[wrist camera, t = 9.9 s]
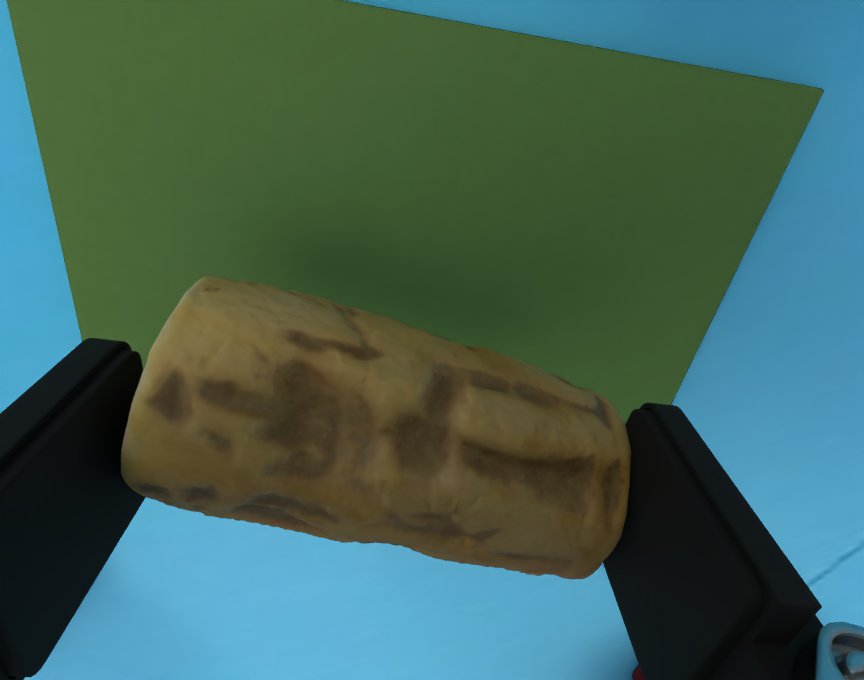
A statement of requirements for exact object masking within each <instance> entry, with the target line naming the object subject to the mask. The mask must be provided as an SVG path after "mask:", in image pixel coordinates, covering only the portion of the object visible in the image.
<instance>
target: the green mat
mask: <svg viewBox="0 0 864 680" xmlns="http://www.w3.org/2000/svg"><path fill="white" fill-rule="evenodd" d="M7 4H8V8H9V13H10V17H11V22H12V27H13V31H14V36H15V40H16V45H17V49H18V54H19V58H20V63H21V67H22V72H23V76H24V81H25V85H26V90H27V94H28V99H29V103H30V108H31V112H32V117H33V121H34V126H35V130H36V135H37V139H38V144H39V148H40V153H41V157H42V162H43V166H44V171H45V175H46V180H47V184H48V189H49V193H50V198H51V202H52V207H53V211H54V216H55V220H56V225H57V229H58V234H59V238H60V243H61V247H62V252H63V256H64V261H65V265H66V270H67V274H68V279H69V283H70V288H71V292H72V297H73V301H74V306H75V310H76V315H77V319H78V324H79V328H80V333H81V337H82V342H83V341H84V340H86V339H87V338H99V339H108V340H116V341H125V342H127V343H128V344H129V345H130V347H131V349H132V351H137V352H139V354H140V356H141V359H142V366H143V370H144V368H145V365H146V362H147V358H148V355H149V352H150V349H151V348H152V346H153V344H154V342H155V340H156V339H157V337H158V335H159V334H160V332H161V330H162V328H163V326H164V325H165V323H166V321H167V320H168V318H169V316H170V315H171V314H172V312H173V311H174V309H175V308H176V306H177V305H178V303H179V302H180V300H181V298H182V297H183V295H184V294H185V292H186V291H188V290H189V289H190V288H191V287H192V286H193V285H194V284H195V283H196V282H197V281H198V280H200V279H201V278H202V277H204V276H208V275H215V276H220V277H223V278H225V279H228V280H244V281H248V282H253V283H263V284H267V285H271V286H277V287H278V288H281V289H283V290H296V291H298V292H301V293H306V294H312V295H315V296H318V297H321V298H325V299H327V300H331V301H334V302H337V303H339V304H342V305H344V306H346V307H352V308H358V309H361V310H363V311H369V312H372V313H374V314H378V315H383V316H386V317H389V318H391V319H394V320H397V321H400V322H402V323H403V324H405V325H408V326H411V327H415V328H423V329H425V330H426V331H428V332H430V333H432V334H433V335H435V336H438V337H445V338H448V339H449V340H450V341H452V342H456V343H459V344H461V345H463V346H478V347H484V348H486V349H489V350H492V351H495V352H498V353H502V354H504V355H507V356H510V357H512V358H515V359H519V360H521V361H523V362H525V363H528V364H530V365H533V366H536V367H538V368H541V369H543V370H544V371H546V372H548V373H550V374H554V375H557V376H560V377H562V378H564V379H566V380H567V381H569V382H570V383H571V384H572V385H573V386H575V387H582V388H587V389H590V390H592V391H595V392H597V393H599V394H600V395H602V396H604V397H605V398H607V399H608V400H609V401H610V402H611V403H612V405H613V406H614V407H615V408H616V410H617V411H618V413H619V414H620V416H621V417H622V419H623V421H624V423H625V425H626V422H627V420H628V418H629V416H630V414H631V412H632V411H633V410H634V409H640V407H641V406H642V405H643V404H644V403H657V404H665V405H671V403H672V401H673V399H674V397H675V395H676V393H677V391H678V389H679V387H680V385H681V383H682V381H683V379H684V377H685V375H686V373H687V371H688V369H689V366H690V364H691V362H692V360H693V358H694V356H695V354H696V352H697V350H698V348H699V346H700V344H701V342H702V340H703V338H704V336H705V334H706V332H707V330H708V328H709V325H710V323H711V321H712V319H713V317H714V315H715V313H716V311H717V309H718V307H719V305H720V303H721V301H722V299H723V297H724V295H725V293H726V291H727V289H728V287H729V284H730V282H731V280H732V278H733V276H734V274H735V272H736V270H737V268H738V266H739V264H740V262H741V260H742V258H743V256H744V254H745V252H746V250H747V248H748V246H749V243H750V241H751V239H752V237H753V235H754V233H755V231H756V229H757V227H758V225H759V223H760V221H761V219H762V217H763V215H764V213H765V211H766V209H767V207H768V205H769V202H770V200H771V198H772V196H773V194H774V192H775V190H776V188H777V186H778V184H779V182H780V180H781V178H782V176H783V174H784V172H785V170H786V168H787V166H788V164H789V161H790V159H791V157H792V155H793V153H794V151H795V149H796V147H797V145H798V143H799V141H800V139H801V137H802V135H803V133H804V131H805V129H806V127H807V125H808V123H809V120H810V118H811V116H812V114H813V112H814V110H815V108H816V106H817V104H818V102H819V100H820V98H821V96H822V94H823V92H824V90H823V89H821V88H816V87H811V86H805V85H800V84H794V83H789V82H783V81H778V80H773V79H767V78H762V77H756V76H751V75H745V74H740V73H734V72H729V71H724V70H718V69H713V68H707V67H702V66H696V65H691V64H686V63H680V62H675V61H669V60H664V59H658V58H653V57H647V56H642V55H637V54H631V53H626V52H620V51H615V50H609V49H604V48H599V47H593V46H588V45H582V44H577V43H571V42H566V41H561V40H555V39H550V38H544V37H539V36H533V35H528V34H522V33H517V32H512V31H506V30H501V29H495V28H490V27H484V26H479V25H474V24H468V23H463V22H457V21H452V20H446V19H441V18H435V17H430V16H425V15H419V14H414V13H408V12H403V11H397V10H392V9H387V8H381V7H376V6H370V5H365V4H359V3H354V2H348V1H343V0H7Z"/></svg>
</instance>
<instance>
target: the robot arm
mask: <svg viewBox="0 0 864 680" xmlns="http://www.w3.org/2000/svg"><path fill="white" fill-rule="evenodd" d="M142 373H143V366H142V359H141V356H140V354H139V352H137V351H132V349H131V347H130V345H129V344H128V343H127V342H125V341H116V340H108V339H99V338H87V339H86V340H84V341H83V342H82V343H80V344H79V345H78V346H77V347H76V348H75V349H74V350H72V351H71V352H70V353H69V354H68V355H67V356H66V357H64V358H63V359H62V360H61V361H60V362H59V363H58V364H56V365H55V366H54V367H53V368H52V369H51V370H50V371H49V372H47V373H46V374H45V375H44V376H43V377H42V378H41V379H39V380H38V381H37V382H36V383H35V384H34V385H33V386H31V387H30V388H29V389H28V390H27V391H26V392H25V393H23V394H22V395H21V396H20V397H19V398H18V399H17V400H15V401H14V402H13V403H12V404H11V405H10V406H9V407H7V408H6V409H5V410H4V411H3V412H2V413H1V414H0V680H23V679H24V678H25V677H32V676H33V675H35V674H36V673H37V672H38V671H39V670H40V669H41V668H42V666H43V665H44V663H45V662H46V660H47V659H48V657H49V655H50V654H51V652H52V650H53V649H54V647H55V645H56V644H57V642H58V640H59V639H60V637H61V635H62V634H63V632H64V631H65V629H66V627H67V626H68V624H69V622H70V621H71V619H72V617H73V616H74V614H75V612H76V611H77V609H78V608H79V606H80V604H81V603H82V601H83V599H84V598H85V596H86V594H87V593H88V591H89V589H90V588H91V586H92V585H93V583H94V581H95V580H96V578H97V576H98V575H99V573H100V571H101V570H102V568H103V566H104V565H105V563H106V561H107V560H108V558H109V557H110V555H111V553H112V552H113V550H114V548H115V547H116V545H117V543H118V542H119V540H120V538H121V537H122V535H123V534H124V532H125V530H126V529H127V527H128V525H129V524H130V522H131V520H132V519H133V517H134V515H135V514H136V512H137V511H138V509H139V507H140V506H141V504H142V502H143V501H144V499H145V496H142V495H140V494H138V493H137V492H135V491H134V490H133V489H131V488H130V487H129V486H128V484H127V483H126V482H125V480H124V479H123V477H122V475H121V449H122V444H123V439H124V434H125V430H126V427H127V423H128V417H129V413H130V409H131V404H132V401H133V398H134V395H135V392H136V390H137V387H138V385H139V381H140V378H141V375H142ZM625 426H626V429H627V434H628V439H629V443H630V447H631V468H630V486H629V496H628V507H627V516H626V520H625V524H624V528H623V532H622V536H621V538H620V540H619V541H618V543H617V545H616V547H615V548H614V550H613V551H612V552H611V553H610V555H609V556H608V557H607V558H606V559H605V560H604V561H603V564H604V567H605V570H606V573H607V575H608V578H609V581H610V584H611V587H612V590H613V592H614V595H615V598H616V601H617V604H618V607H619V610H620V612H621V615H622V618H623V621H624V624H625V627H626V629H627V632H628V635H629V638H630V641H631V644H632V646H633V649H634V652H635V655H636V658H637V661H638V663H639V666H640V669H641V672H642V675H643V678H644V680H864V628H863V627H861V626H857V625H853V624H849V623H845V622H834V623H829V624H827V625H826V626H824V627H823V625H822V624H821V622H820V621H819V619H818V618H817V616H816V615H815V614H816V613H817V612H818V611H819V609H820V608H821V607H822V606H821V605H820V603H819V602H818V600H817V599H816V598H815V596H814V595H813V593H812V592H811V591H810V589H809V588H808V586H807V585H806V584H805V582H804V581H803V579H802V578H801V577H800V575H799V574H798V572H797V571H796V570H795V568H794V567H793V565H792V564H791V563H790V561H789V560H788V558H787V557H786V556H785V554H784V553H783V551H782V550H781V549H780V547H779V546H778V544H777V543H776V542H775V540H774V539H773V537H772V536H771V535H770V533H769V532H768V530H767V529H766V528H765V526H764V525H763V523H762V522H761V521H760V519H759V518H758V516H757V515H756V514H755V512H754V511H753V509H752V508H751V507H750V505H749V504H748V502H747V501H746V500H745V498H744V497H743V495H742V494H741V493H740V491H739V490H738V488H737V487H736V486H735V484H734V483H733V481H732V480H731V479H730V477H729V476H728V475H727V473H726V472H725V470H724V469H723V468H722V466H721V465H720V463H719V462H718V461H717V459H716V458H715V456H714V455H713V454H712V452H711V451H710V449H709V448H708V447H707V445H706V444H705V442H704V441H703V440H702V438H701V437H700V435H699V434H698V433H697V431H696V430H695V428H694V427H693V426H692V424H691V423H690V421H689V420H688V419H687V417H686V416H685V414H684V413H683V412H682V410H681V409H680V408H679V407H677V406H674V405H665V404H657V403H644V404H643V405H642V406H641V407H640V409H634V410H633V411H632V412H631V414H630V416H629V418H628V420H627V422H626V425H625Z"/></svg>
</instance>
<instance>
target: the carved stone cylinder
mask: <svg viewBox="0 0 864 680" xmlns="http://www.w3.org/2000/svg"><path fill="white" fill-rule="evenodd" d="M630 468H631V447H630V443H629V439H628V434H627V429H626V426H625V423H624V421H623V419H622V417H621V416H620V414H619V413H618V411H617V410H616V408H615V407H614V406H613V405H612V403H611V402H610V401H609V400H608V399H607V398H605V397H604V396H602V395H600V394H599V393H597V392H595V391H592V390H590V389H587V388H582V387H575V386H573V385H572V384H571V383H570V382H569V381H567V380H566V379H564V378H562V377H560V376H557V375H554V374H550V373H548V372H546V371H544V370H543V369H541V368H538V367H536V366H533V365H530V364H528V363H525V362H523V361H521V360H519V359H515V358H512V357H510V356H507V355H504V354H502V353H498V352H495V351H492V350H489V349H486V348H484V347H478V346H463V345H461V344H459V343H456V342H452V341H450V340H449V339H448V338H445V337H438V336H435V335H433V334H432V333H430V332H428V331H426V330H425V329H423V328H415V327H411V326H408V325H405V324H403V323H402V322H400V321H397V320H394V319H391V318H389V317H386V316H383V315H378V314H374V313H372V312H369V311H363V310H361V309H358V308H352V307H346V306H344V305H342V304H339V303H337V302H334V301H331V300H327V299H325V298H321V297H318V296H315V295H312V294H306V293H301V292H298V291H296V290H283V289H281V288H278V287H277V286H271V285H267V284H263V283H253V282H248V281H244V280H228V279H225V278H223V277H220V276H215V275H208V276H204V277H202V278H201V279H200V280H198V281H197V282H196V283H195V284H194V285H193V286H192V287H191V288H190V289H189V290H188V291H186V292H185V294H184V295H183V297H182V298H181V300H180V302H179V303H178V305H177V306H176V308H175V309H174V311H173V312H172V314H171V315H170V316H169V318H168V320H167V321H166V323H165V325H164V326H163V328H162V330H161V332H160V334H159V335H158V337H157V339H156V340H155V342H154V344H153V346H152V348H151V349H150V352H149V355H148V358H147V362H146V365H145V368H144V370H143V373H142V375H141V378H140V381H139V385H138V387H137V390H136V392H135V395H134V398H133V401H132V404H131V409H130V413H129V417H128V423H127V427H126V430H125V434H124V439H123V444H122V449H121V475H122V477H123V479H124V480H125V482H126V483H127V484H128V486H129V487H130V488H131V489H133V490H134V491H135V492H137V493H138V494H140V495H142V496H145V497H148V498H151V499H155V500H157V501H159V502H163V503H164V504H166V505H170V506H174V507H177V508H180V509H185V510H189V511H195V512H201V513H203V514H204V515H206V516H214V517H219V518H228V519H232V518H233V519H234V520H238V521H239V520H243V521H247V522H251V523H259V524H261V525H269V526H272V527H280V528H283V529H286V530H293V531H297V532H303V533H307V534H310V535H313V536H317V537H322V538H327V539H330V540H334V541H340V542H355V541H356V542H359V543H375V542H378V543H389V544H392V545H401V546H403V547H408V548H410V549H412V550H413V551H417V552H420V553H422V554H424V555H427V556H431V557H433V558H437V559H442V560H445V561H453V562H458V563H467V564H473V565H481V566H485V567H495V568H504V569H507V570H512V571H519V572H521V573H526V574H529V575H530V574H533V575H537V576H540V575H543V574H555V575H557V576H560V577H562V578H567V579H584V578H587V577H588V576H590V575H591V574H593V573H594V572H595V571H596V570H597V569H598V568H599V567H600V566H601V564H602V563H603V561H604V560H605V559H606V558H607V557H608V556H609V555H610V553H611V552H612V551H613V550H614V548H615V547H616V545H617V543H618V541H619V540H620V538H621V536H622V532H623V528H624V524H625V520H626V516H627V507H628V496H629V486H630Z"/></svg>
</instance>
